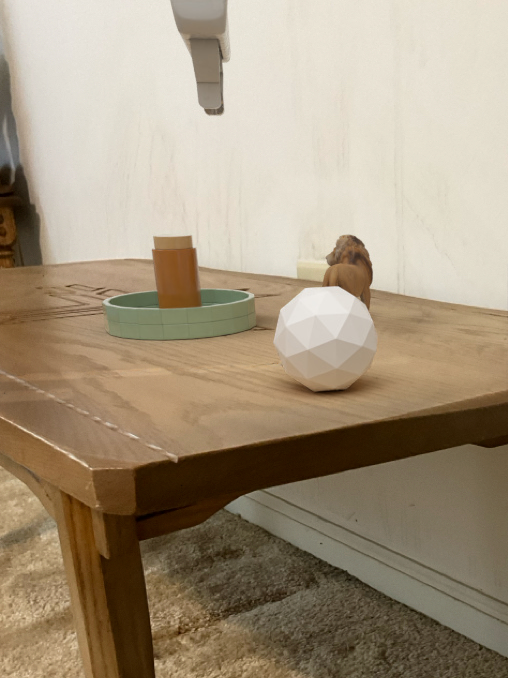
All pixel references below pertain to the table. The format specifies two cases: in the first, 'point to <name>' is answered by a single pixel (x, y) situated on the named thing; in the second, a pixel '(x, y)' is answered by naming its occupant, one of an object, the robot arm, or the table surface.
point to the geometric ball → (325, 338)
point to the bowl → (179, 316)
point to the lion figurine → (350, 268)
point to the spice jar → (176, 271)
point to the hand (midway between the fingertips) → (212, 112)
